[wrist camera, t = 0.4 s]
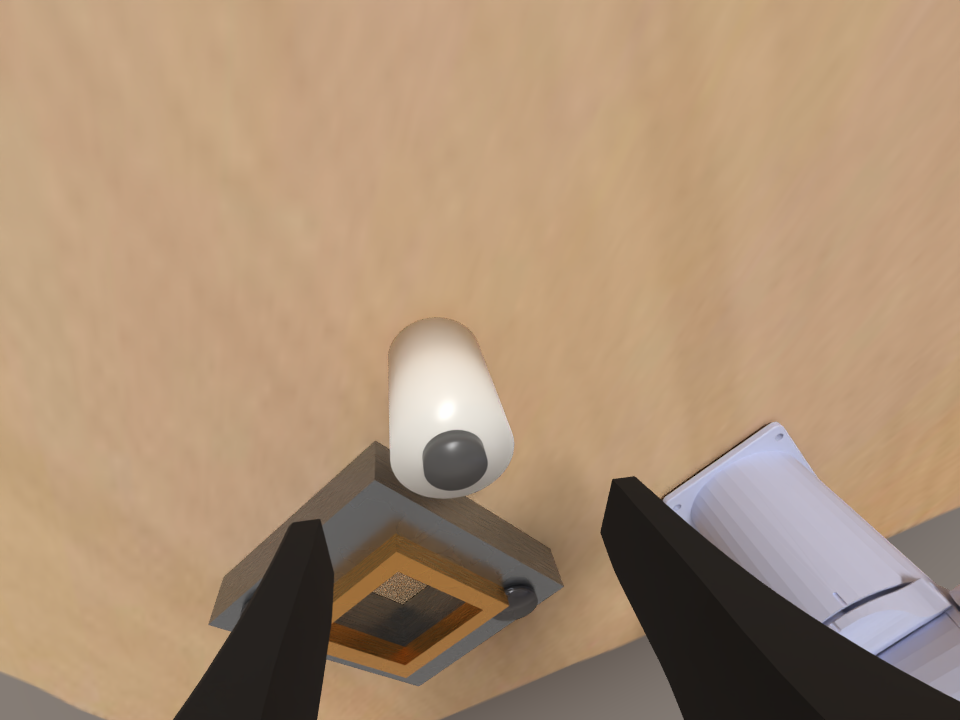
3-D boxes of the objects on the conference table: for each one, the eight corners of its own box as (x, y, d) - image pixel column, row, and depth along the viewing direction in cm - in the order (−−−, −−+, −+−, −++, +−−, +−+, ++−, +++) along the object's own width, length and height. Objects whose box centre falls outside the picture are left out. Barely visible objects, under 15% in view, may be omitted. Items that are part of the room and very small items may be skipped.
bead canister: (498, 355, 20) (543, 458, 14) (435, 411, 21) (454, 528, 15) (434, 298, 18) (458, 392, 12) (367, 363, 19) (362, 476, 13)
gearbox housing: (550, 549, 28) (570, 603, 25) (416, 645, 31) (419, 704, 28) (375, 441, 21) (374, 498, 18) (223, 577, 24) (201, 646, 21)
